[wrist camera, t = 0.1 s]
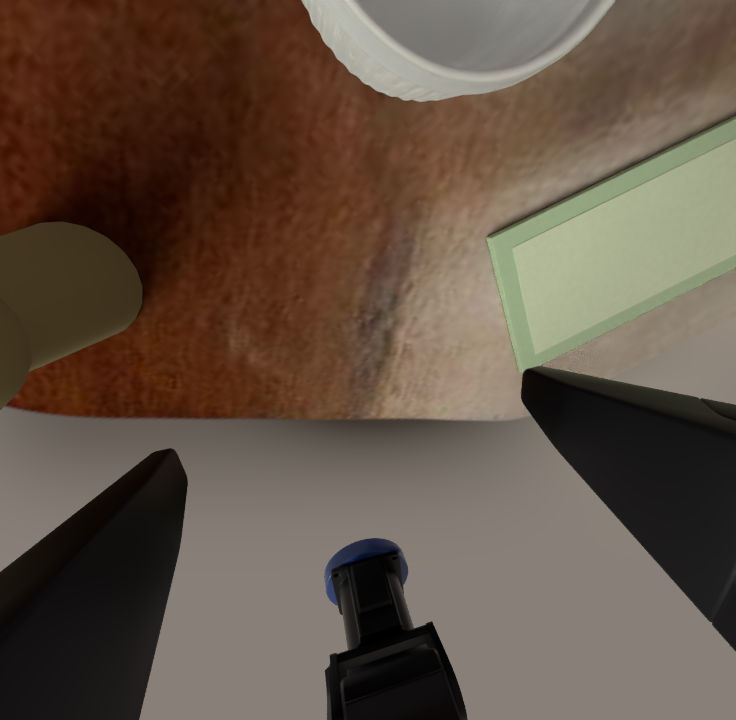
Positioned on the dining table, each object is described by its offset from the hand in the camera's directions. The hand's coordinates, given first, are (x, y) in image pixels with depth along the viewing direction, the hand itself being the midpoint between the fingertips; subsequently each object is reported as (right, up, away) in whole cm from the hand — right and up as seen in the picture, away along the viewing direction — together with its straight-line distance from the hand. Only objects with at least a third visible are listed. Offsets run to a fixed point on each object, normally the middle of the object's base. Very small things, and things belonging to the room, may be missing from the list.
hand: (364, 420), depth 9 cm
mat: (+18, +9, +16) cm, 26 cm away
